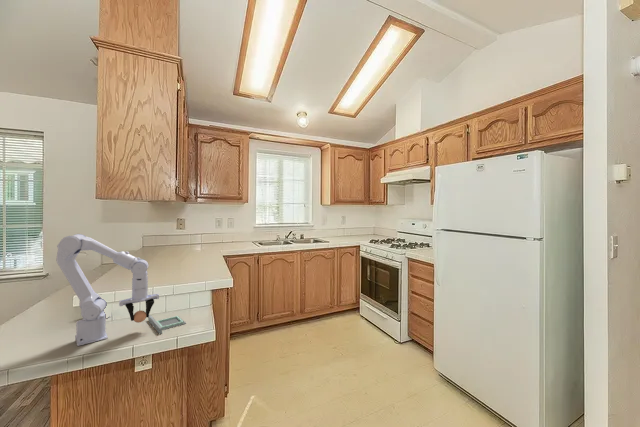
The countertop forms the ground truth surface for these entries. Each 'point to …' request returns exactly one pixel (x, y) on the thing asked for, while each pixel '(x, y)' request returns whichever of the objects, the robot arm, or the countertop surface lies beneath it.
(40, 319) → the countertop surface
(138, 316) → the ball
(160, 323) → the pad
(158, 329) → the acrylic wall
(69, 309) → the countertop surface
